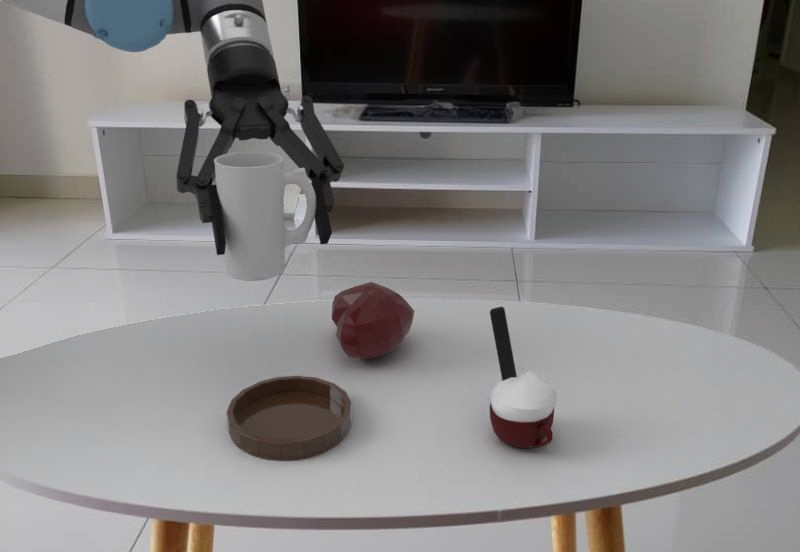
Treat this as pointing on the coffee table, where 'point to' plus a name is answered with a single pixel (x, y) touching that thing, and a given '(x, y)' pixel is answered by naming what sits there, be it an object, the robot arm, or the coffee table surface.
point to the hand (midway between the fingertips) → (274, 243)
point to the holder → (289, 417)
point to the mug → (258, 212)
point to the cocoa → (519, 396)
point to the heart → (370, 320)
